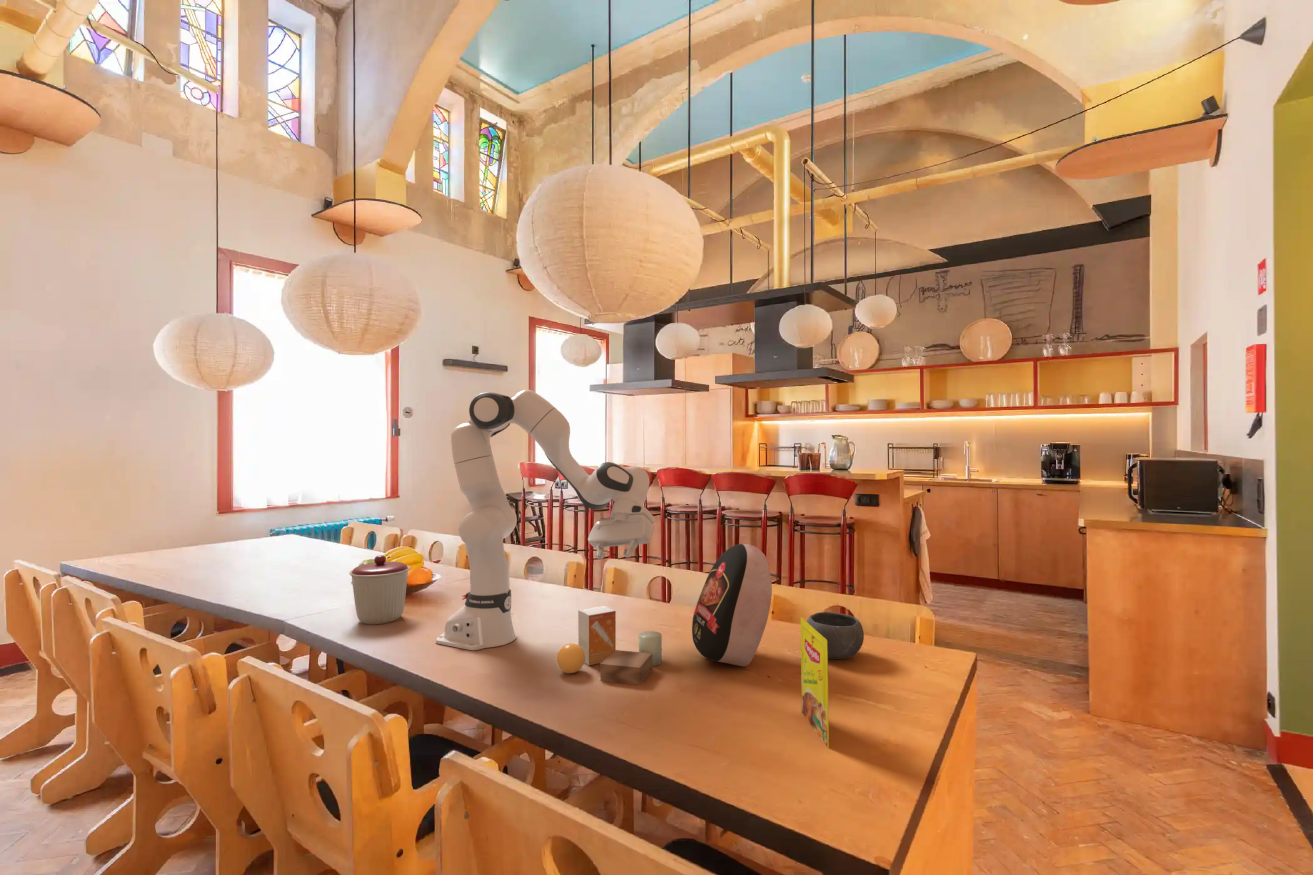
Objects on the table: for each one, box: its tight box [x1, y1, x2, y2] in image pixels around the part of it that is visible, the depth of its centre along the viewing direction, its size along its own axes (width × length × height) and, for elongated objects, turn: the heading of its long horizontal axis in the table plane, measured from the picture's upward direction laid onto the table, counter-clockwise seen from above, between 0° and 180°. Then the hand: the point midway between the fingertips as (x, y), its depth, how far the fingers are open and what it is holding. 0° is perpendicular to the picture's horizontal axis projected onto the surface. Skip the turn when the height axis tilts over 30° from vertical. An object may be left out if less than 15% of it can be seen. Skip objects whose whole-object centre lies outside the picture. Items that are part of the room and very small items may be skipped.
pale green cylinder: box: [638, 630, 663, 667], centre depth 157 cm, size 6×6×7 cm
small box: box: [577, 605, 617, 667], centre depth 159 cm, size 8×6×13 cm
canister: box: [348, 554, 411, 625], centre depth 198 cm, size 18×18×21 cm
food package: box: [800, 616, 830, 749], centre depth 120 cm, size 15×1×20 cm, turn 5°
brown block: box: [599, 649, 653, 686], centre depth 149 cm, size 10×10×4 cm
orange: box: [556, 642, 585, 674], centre depth 151 cm, size 7×7×7 cm
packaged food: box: [691, 543, 773, 667], centre depth 159 cm, size 22×20×30 cm
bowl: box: [806, 611, 865, 660], centre depth 160 cm, size 15×15×10 cm
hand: (612, 557), depth 169 cm, fingers open, 8 cm apart
